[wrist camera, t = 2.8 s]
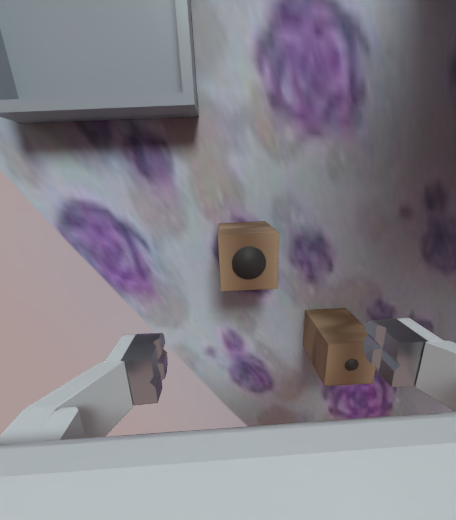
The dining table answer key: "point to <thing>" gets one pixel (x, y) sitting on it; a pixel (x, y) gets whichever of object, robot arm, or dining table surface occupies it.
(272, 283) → the block
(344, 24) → the dining table surface
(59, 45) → the tray
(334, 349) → the narrow-bore block
